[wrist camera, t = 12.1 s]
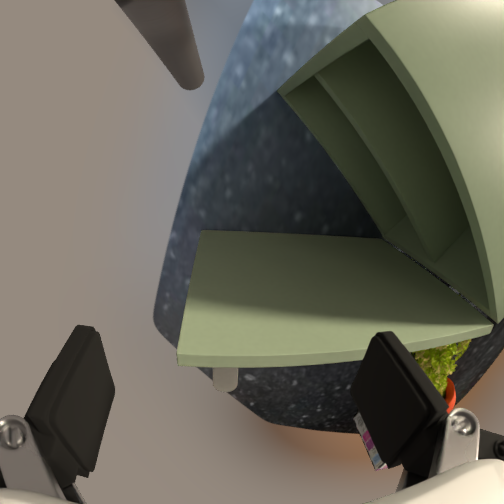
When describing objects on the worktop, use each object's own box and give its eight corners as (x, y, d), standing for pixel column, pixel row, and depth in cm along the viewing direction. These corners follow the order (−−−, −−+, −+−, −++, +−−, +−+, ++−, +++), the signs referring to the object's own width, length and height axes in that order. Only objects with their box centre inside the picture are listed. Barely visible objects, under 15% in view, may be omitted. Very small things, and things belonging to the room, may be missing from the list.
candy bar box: (351, 419, 57) (374, 472, 42) (360, 406, 56) (385, 460, 40) (387, 414, 59) (411, 460, 44) (396, 401, 57) (423, 449, 42)
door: (370, 286, 43) (459, 388, 21) (200, 284, 40) (186, 430, 18) (381, 238, 41) (494, 324, 18) (201, 229, 37) (176, 353, 15)
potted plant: (453, 361, 64) (440, 262, 43) (479, 392, 52) (494, 305, 31) (403, 401, 66) (359, 330, 45) (426, 436, 54) (401, 390, 33)
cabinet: (383, 238, 41) (497, 324, 18) (276, 90, 32) (364, 14, 9) (453, 171, 38) (571, 209, 15) (368, 31, 29) (485, -29, 6)
